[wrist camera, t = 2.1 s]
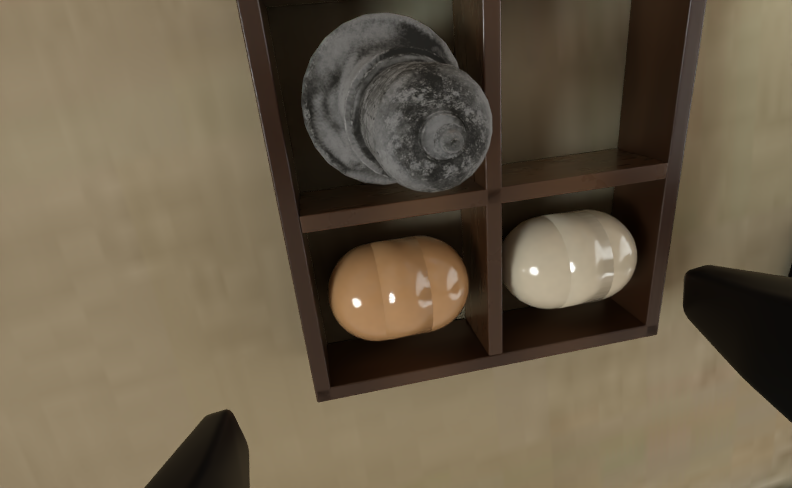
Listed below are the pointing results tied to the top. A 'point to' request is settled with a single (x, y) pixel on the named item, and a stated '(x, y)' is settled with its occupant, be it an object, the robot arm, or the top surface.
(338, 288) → the brown egg
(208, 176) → the top surface
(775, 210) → the top surface
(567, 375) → the top surface
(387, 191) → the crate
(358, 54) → the grey chess piece
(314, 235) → the top surface
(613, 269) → the cream egg
